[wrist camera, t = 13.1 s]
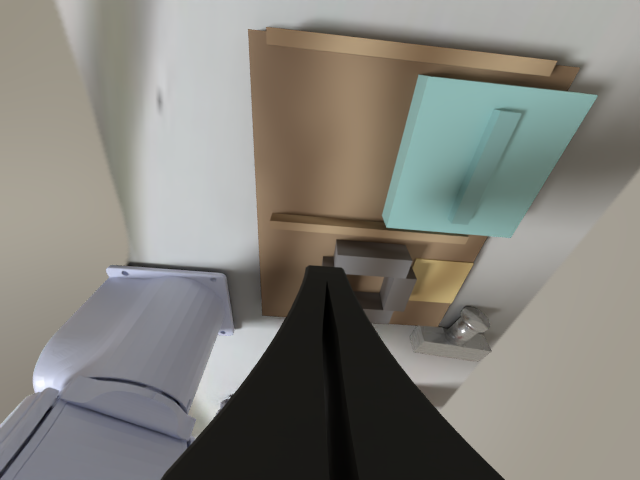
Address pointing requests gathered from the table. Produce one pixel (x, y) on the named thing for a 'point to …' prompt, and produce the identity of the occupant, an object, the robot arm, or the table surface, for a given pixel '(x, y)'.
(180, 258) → the table surface
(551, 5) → the table surface
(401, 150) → the cover
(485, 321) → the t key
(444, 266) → the board
